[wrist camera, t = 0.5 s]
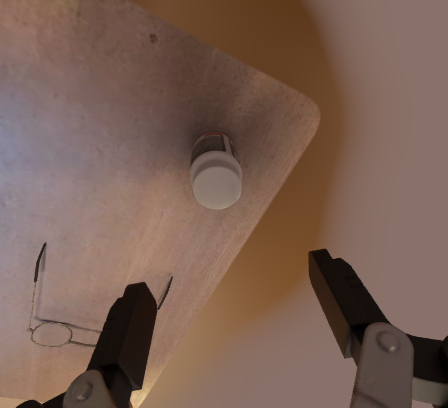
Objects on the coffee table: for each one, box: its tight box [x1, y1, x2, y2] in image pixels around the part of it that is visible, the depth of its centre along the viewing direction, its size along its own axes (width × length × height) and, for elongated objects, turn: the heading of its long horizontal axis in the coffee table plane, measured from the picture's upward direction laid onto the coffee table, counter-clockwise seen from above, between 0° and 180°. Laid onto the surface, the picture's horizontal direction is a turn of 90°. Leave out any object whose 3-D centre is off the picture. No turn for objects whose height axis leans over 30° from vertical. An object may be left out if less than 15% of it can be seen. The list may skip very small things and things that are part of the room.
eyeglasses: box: [27, 243, 173, 348], centre depth 37 cm, size 18×19×4 cm
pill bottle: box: [189, 132, 242, 210], centre depth 23 cm, size 5×5×8 cm
